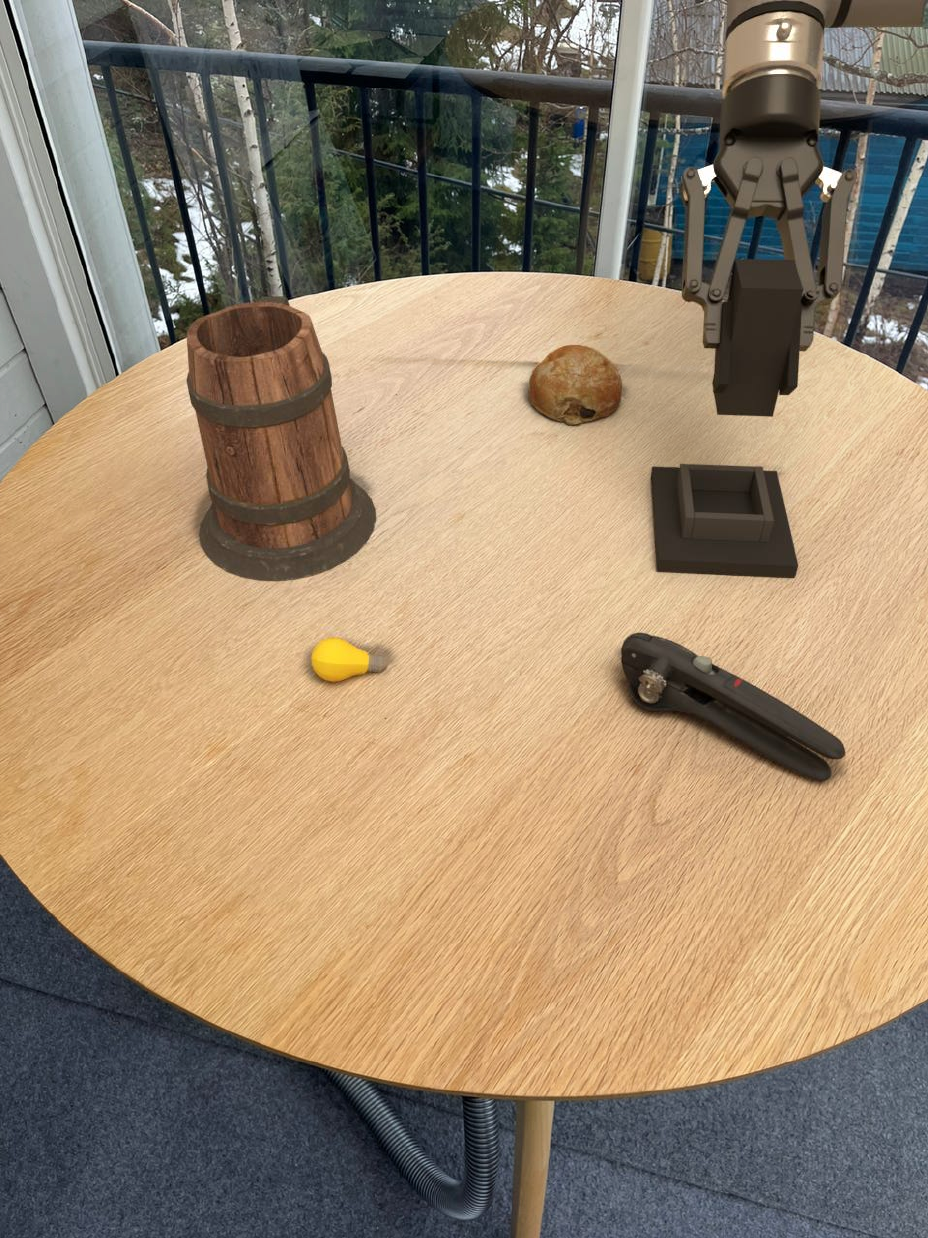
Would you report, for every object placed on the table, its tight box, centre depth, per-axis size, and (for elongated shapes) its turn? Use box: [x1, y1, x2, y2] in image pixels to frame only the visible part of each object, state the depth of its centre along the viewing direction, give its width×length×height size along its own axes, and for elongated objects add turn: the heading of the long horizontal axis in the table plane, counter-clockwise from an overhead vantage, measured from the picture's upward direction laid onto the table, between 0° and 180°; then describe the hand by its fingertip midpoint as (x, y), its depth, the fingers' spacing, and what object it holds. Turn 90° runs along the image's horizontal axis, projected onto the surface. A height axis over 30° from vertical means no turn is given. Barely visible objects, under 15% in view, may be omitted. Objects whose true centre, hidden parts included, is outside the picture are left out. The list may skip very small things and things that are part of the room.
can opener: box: [620, 631, 846, 782], centre depth 69 cm, size 18×7×6 cm, turn 50°
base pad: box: [650, 463, 799, 579], centre depth 86 cm, size 12×14×4 cm
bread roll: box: [528, 344, 623, 426], centre depth 102 cm, size 10×10×8 cm
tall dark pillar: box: [711, 258, 803, 418], centre depth 75 cm, size 4×5×11 cm
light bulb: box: [311, 636, 388, 682], centre depth 75 cm, size 3×6×4 cm, turn 96°
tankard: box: [186, 295, 377, 582], centre depth 85 cm, size 24×17×20 cm
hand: (754, 389), depth 74 cm, fingers closed on tall dark pillar, 4 cm apart
